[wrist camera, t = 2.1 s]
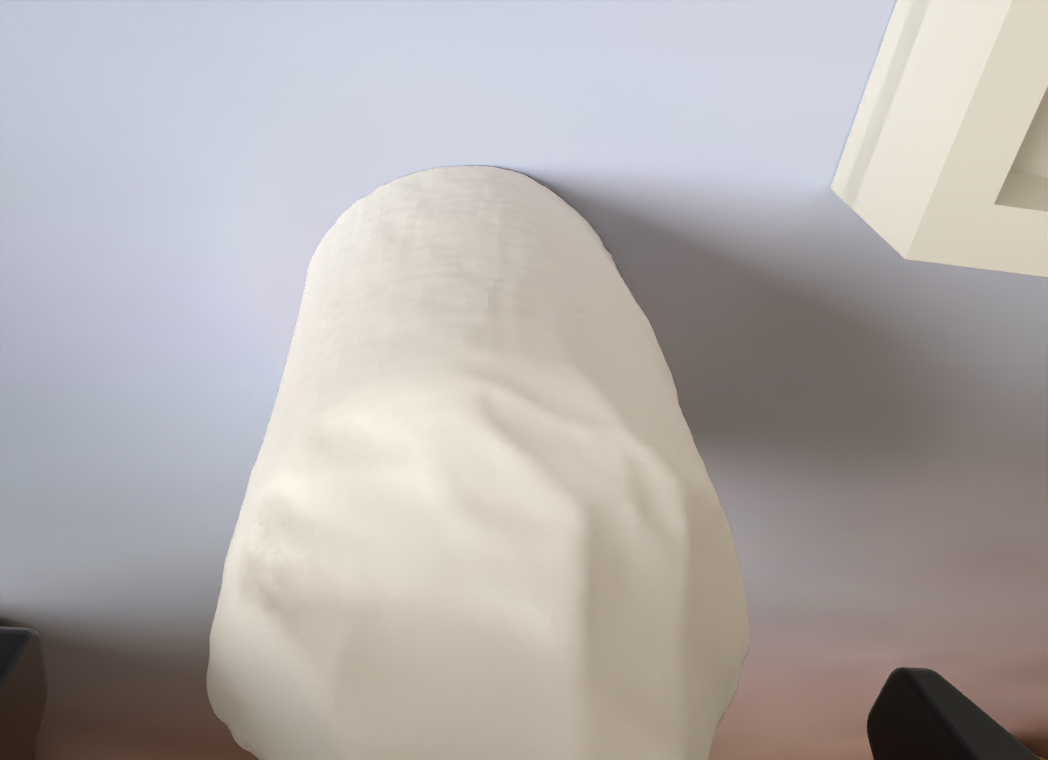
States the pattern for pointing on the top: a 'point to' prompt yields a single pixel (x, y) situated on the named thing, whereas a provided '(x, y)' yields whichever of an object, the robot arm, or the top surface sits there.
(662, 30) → the top surface
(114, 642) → the top surface
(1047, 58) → the tray
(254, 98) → the top surface
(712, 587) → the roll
